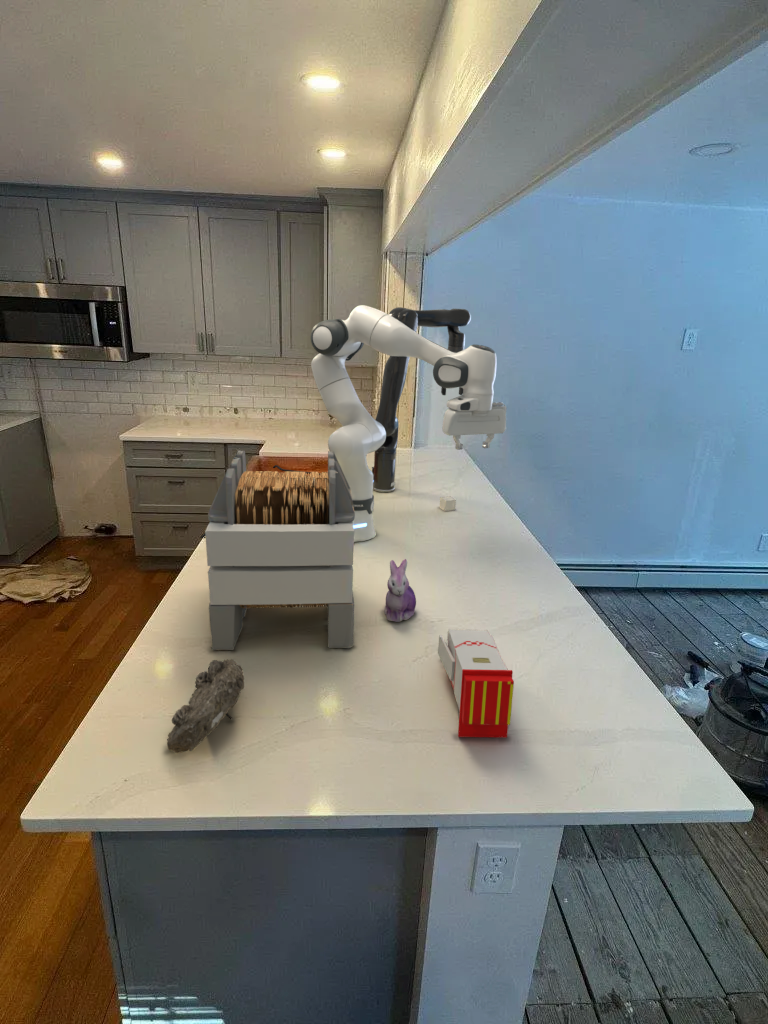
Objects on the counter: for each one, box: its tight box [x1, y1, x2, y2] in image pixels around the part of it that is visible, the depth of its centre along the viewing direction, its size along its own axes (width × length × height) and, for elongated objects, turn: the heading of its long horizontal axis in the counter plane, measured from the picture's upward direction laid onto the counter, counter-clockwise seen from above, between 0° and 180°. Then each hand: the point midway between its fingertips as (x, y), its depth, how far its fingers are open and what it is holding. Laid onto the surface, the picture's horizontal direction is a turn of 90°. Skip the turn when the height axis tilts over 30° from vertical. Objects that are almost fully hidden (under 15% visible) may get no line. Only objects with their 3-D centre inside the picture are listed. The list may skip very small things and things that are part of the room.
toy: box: [437, 628, 515, 738], centre depth 117 cm, size 12×13×30 cm
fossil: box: [166, 658, 245, 754], centre depth 106 cm, size 22×10×15 cm
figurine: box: [384, 558, 417, 623], centre depth 145 cm, size 9×10×15 cm
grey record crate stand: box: [204, 449, 355, 652], centre depth 138 cm, size 34×33×41 cm
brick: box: [438, 495, 457, 512], centre depth 227 cm, size 5×5×4 cm
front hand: (472, 448), depth 171 cm, fingers open, 8 cm apart
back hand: (452, 394), depth 252 cm, fingers open, 8 cm apart
